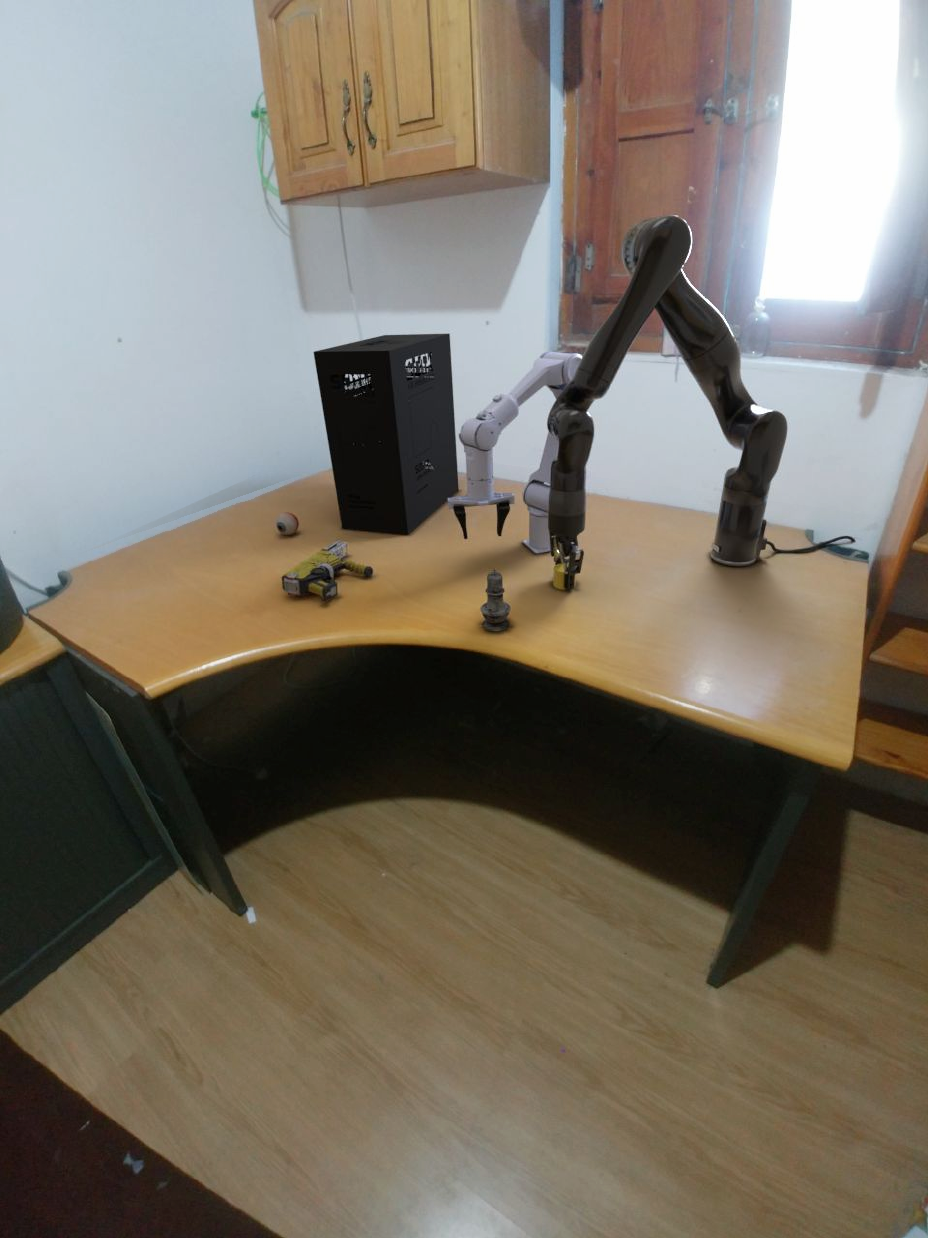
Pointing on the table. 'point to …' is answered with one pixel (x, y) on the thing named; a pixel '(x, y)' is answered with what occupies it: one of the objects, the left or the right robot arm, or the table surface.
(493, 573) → the grey tall turned piece
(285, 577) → the toy gun
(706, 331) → the right robot arm
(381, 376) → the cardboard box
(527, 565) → the table surface
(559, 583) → the tin
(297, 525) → the eyeball
